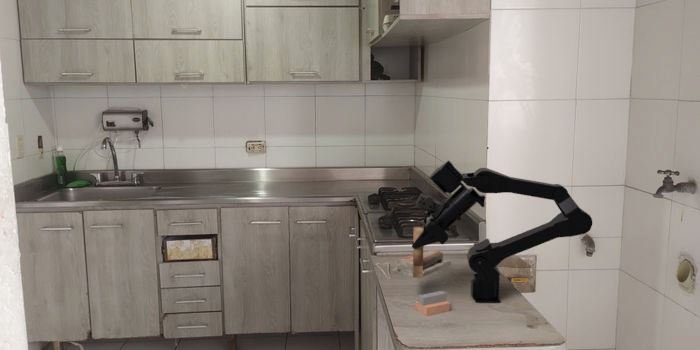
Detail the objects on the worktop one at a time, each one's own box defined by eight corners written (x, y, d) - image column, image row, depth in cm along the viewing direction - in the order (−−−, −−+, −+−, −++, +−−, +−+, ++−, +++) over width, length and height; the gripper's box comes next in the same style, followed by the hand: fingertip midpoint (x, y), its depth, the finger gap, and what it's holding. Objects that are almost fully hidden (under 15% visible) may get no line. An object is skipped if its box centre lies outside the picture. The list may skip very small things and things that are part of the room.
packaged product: (418, 264, 165) (391, 257, 171) (418, 280, 166) (391, 273, 172) (451, 250, 178) (424, 245, 185) (450, 265, 179) (424, 259, 186)
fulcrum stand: (437, 304, 146) (438, 289, 145) (449, 310, 141) (450, 295, 141) (414, 308, 142) (415, 293, 142) (426, 315, 138) (426, 300, 137)
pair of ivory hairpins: (374, 266, 179) (374, 260, 179) (389, 265, 180) (389, 259, 179) (382, 288, 162) (382, 282, 162) (398, 288, 163) (399, 281, 162)
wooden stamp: (423, 263, 157) (423, 222, 155) (422, 278, 145) (423, 233, 143) (413, 263, 157) (414, 222, 155) (412, 277, 145) (413, 233, 143)
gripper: (434, 178, 156) (393, 216, 159) (435, 189, 138) (389, 233, 141) (462, 207, 156) (421, 245, 159) (467, 222, 138) (420, 265, 141)
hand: (413, 246), depth 150 cm, fingers closed on wooden stamp, 3 cm apart
